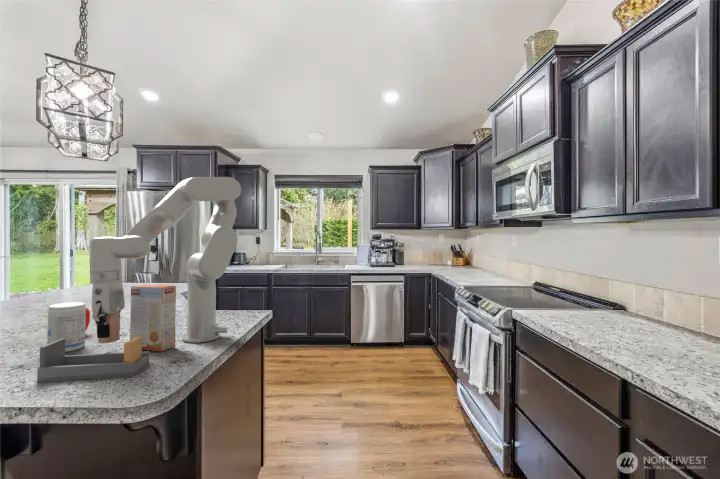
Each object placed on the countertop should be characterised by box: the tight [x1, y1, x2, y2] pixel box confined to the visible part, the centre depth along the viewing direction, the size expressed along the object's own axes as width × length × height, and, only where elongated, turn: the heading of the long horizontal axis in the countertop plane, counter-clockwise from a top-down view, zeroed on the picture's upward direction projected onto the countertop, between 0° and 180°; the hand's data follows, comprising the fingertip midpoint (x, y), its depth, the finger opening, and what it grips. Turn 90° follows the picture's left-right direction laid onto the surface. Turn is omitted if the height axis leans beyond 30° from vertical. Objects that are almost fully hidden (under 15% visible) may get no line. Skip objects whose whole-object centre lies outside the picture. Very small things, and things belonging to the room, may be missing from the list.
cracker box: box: [129, 283, 177, 353], centre depth 115 cm, size 14×6×21 cm, turn 71°
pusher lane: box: [36, 338, 150, 383], centre depth 93 cm, size 22×10×8 cm, turn 101°
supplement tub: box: [46, 301, 87, 353], centre depth 112 cm, size 10×10×15 cm
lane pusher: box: [123, 336, 143, 363], centre depth 94 cm, size 2×7×7 cm, turn 11°
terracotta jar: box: [97, 307, 121, 344], centre depth 106 cm, size 6×6×10 cm
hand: (109, 334), depth 106 cm, fingers closed on terracotta jar, 5 cm apart
